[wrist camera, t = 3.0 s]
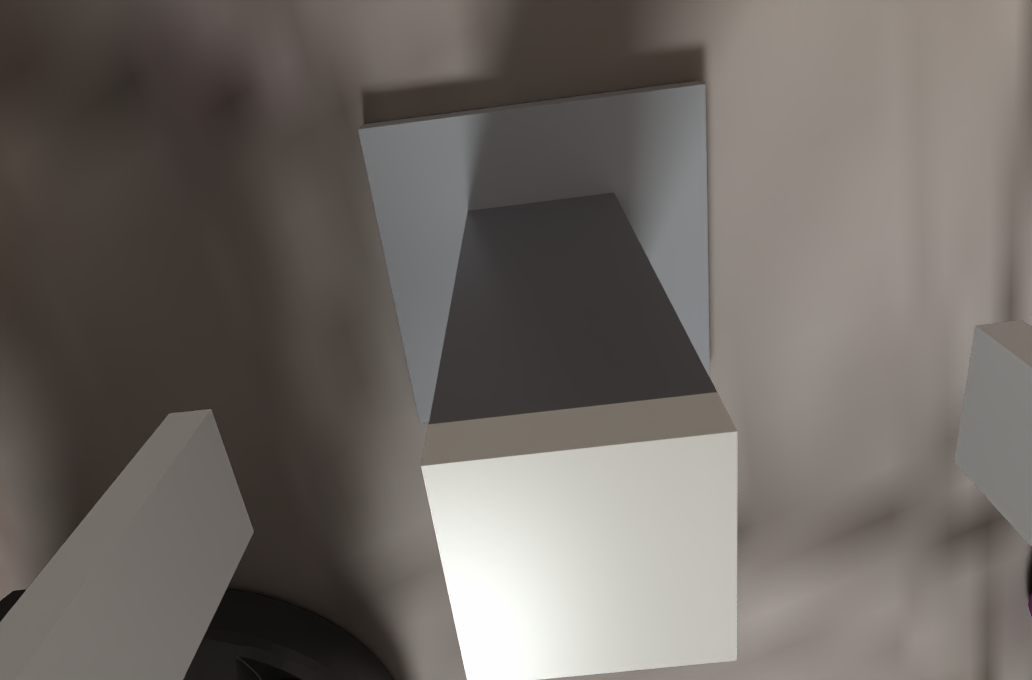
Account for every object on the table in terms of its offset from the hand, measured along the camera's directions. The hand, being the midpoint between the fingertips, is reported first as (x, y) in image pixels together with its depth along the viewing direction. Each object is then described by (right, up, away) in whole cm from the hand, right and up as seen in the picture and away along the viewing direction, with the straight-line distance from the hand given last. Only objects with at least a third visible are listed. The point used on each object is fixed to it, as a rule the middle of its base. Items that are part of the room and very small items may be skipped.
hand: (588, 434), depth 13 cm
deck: (0, +4, +9) cm, 10 cm away
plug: (0, +4, +8) cm, 9 cm away
